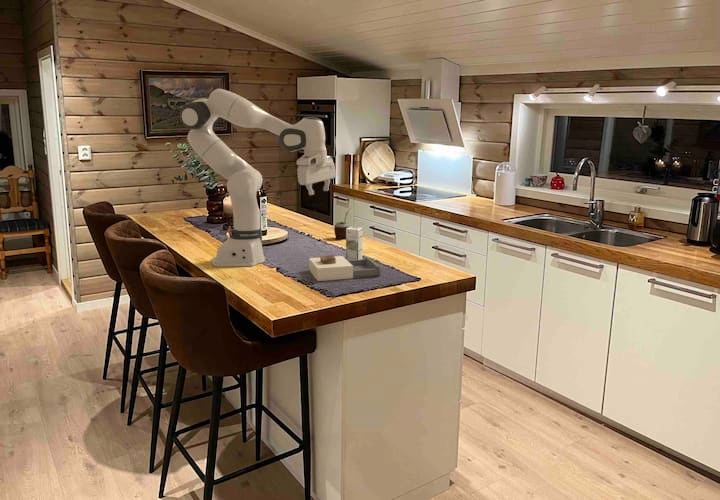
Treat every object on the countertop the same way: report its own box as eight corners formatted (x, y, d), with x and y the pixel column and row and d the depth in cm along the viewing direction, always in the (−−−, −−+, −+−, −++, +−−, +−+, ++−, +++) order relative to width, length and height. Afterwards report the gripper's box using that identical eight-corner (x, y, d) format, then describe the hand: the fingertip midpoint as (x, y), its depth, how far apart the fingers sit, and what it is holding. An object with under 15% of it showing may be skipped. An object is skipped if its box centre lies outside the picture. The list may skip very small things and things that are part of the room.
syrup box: (362, 259, 262) (363, 226, 258) (358, 262, 256) (358, 229, 253) (350, 258, 264) (350, 225, 260) (345, 261, 258) (345, 228, 255)
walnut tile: (323, 264, 235) (323, 259, 234) (320, 260, 239) (320, 256, 239) (335, 263, 236) (335, 258, 236) (332, 260, 241) (332, 255, 240)
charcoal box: (353, 278, 234) (353, 268, 233) (343, 267, 249) (343, 258, 248) (379, 276, 237) (379, 266, 236) (367, 265, 252) (367, 256, 251)
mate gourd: (333, 240, 299) (332, 210, 295) (336, 236, 306) (336, 207, 303) (347, 240, 297) (347, 210, 294) (350, 237, 305) (350, 208, 301)
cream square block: (317, 281, 230) (317, 268, 229) (309, 270, 245) (308, 258, 243) (353, 278, 234) (353, 265, 232) (342, 267, 249) (342, 255, 247)
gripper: (325, 155, 250) (328, 188, 253) (293, 161, 234) (296, 196, 237) (337, 155, 246) (340, 188, 250) (306, 161, 230) (309, 197, 233)
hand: (319, 192), depth 243 cm, fingers open, 8 cm apart
